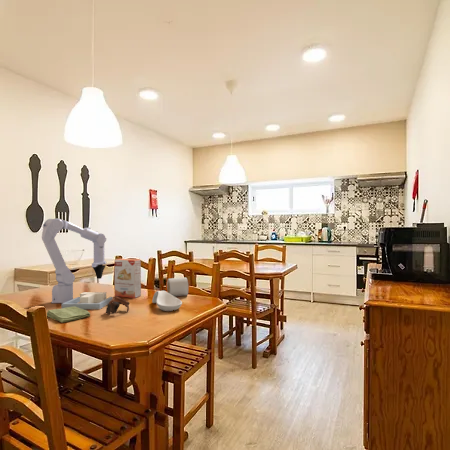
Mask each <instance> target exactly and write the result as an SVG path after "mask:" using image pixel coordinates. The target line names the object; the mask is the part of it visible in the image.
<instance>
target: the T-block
mask: <svg viewBox="0 0 450 450" xmlns="http://www.w3.org/2000/svg"><path fill="white" fill-rule="evenodd" d="M79 297H80V302H79V303H100V302H102V301H104V300H105V299H107V291H103V292H102V291H100V292H99V291H92V292H89V291H88V292H86V291H84V292H81V293H79Z"/></svg>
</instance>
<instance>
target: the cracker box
mask: <svg viewBox="0 0 450 450" xmlns="http://www.w3.org/2000/svg"><path fill="white" fill-rule="evenodd" d="M141 261H142V260H141V259H140V258H139V259H137V258H116V259H114V297H115V296H116V297H119V298H131V299H136V298H139V297H141V296H142V276H141V275H142V271H141V268H142V267H141V266H142V265H141V264H142V263H141Z"/></svg>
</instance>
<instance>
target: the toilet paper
mask: <svg viewBox="0 0 450 450" xmlns="http://www.w3.org/2000/svg"><path fill="white" fill-rule="evenodd" d="M166 285H167V286H166V288H167V291H166V292H168V293H169V294H171V295H173V296H174V297H182V296H183V297H184V296H188V294H189V280H188V278H187V277H173V278H168V279H167V283H166Z"/></svg>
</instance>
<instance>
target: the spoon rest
mask: <svg viewBox="0 0 450 450" xmlns="http://www.w3.org/2000/svg"><path fill="white" fill-rule="evenodd" d="M151 303H153V304H156V306H157V307H158V308H159V309H160V310H161V311H163V312H173V310H174V311H176V310H178V309H179V308H180V307H181V306H182V305H183V301H182V300H181V299H180V298H177V296H173V295H171V294H169V293H168V291H166V290H157V291H155V292H154V294H153V297H152V301H151Z"/></svg>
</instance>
